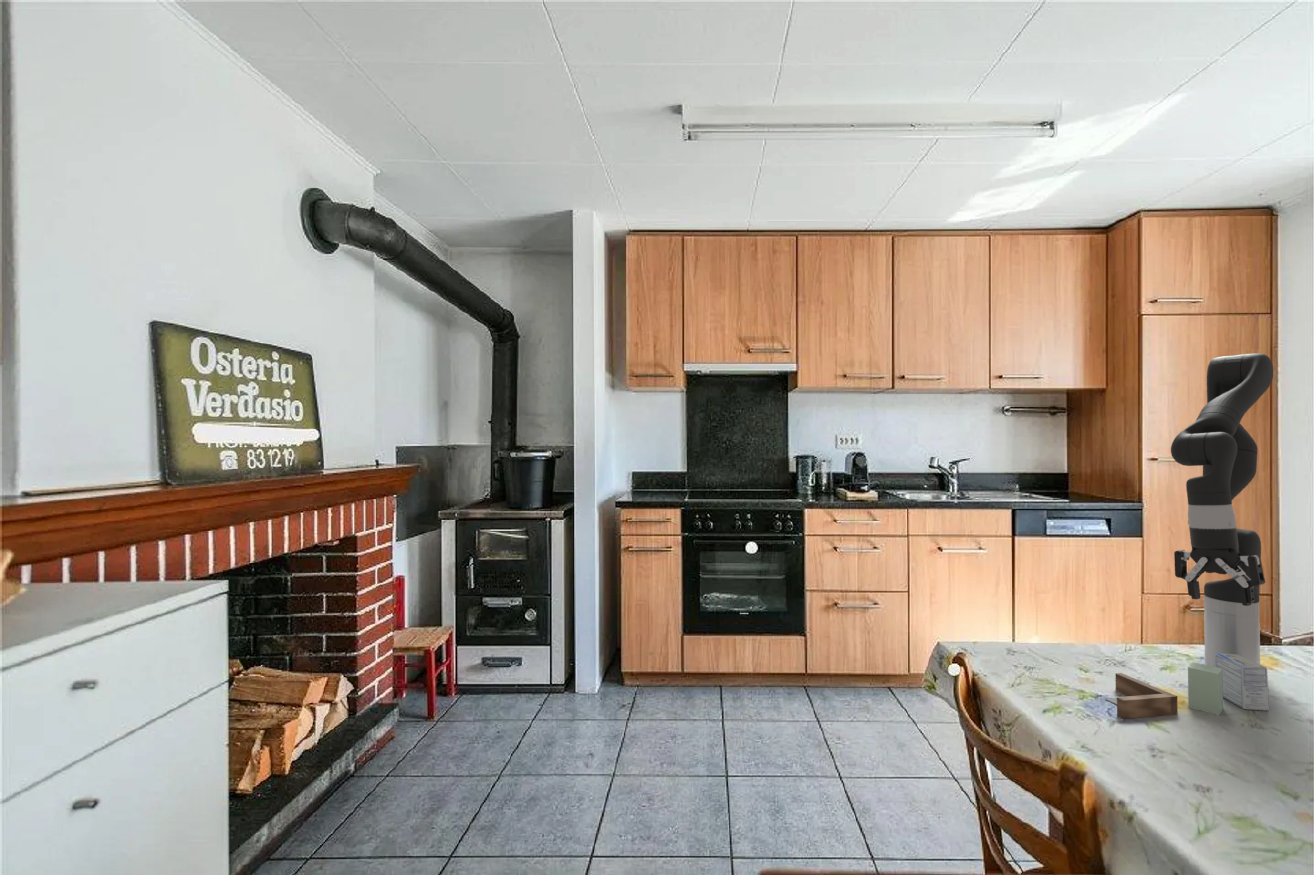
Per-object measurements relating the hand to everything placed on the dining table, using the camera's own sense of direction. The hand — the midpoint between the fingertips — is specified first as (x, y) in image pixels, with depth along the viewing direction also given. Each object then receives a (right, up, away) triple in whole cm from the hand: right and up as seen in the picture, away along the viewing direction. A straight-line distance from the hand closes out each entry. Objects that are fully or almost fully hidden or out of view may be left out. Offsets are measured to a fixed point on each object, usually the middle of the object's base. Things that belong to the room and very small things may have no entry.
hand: (1220, 601), depth 129 cm
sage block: (-10, -19, -8) cm, 23 cm away
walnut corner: (-25, -19, -6) cm, 32 cm away
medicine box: (-1, -19, -5) cm, 20 cm away
